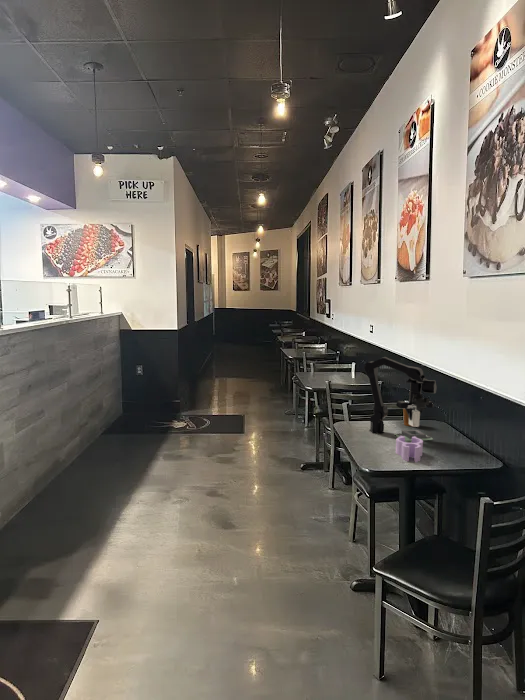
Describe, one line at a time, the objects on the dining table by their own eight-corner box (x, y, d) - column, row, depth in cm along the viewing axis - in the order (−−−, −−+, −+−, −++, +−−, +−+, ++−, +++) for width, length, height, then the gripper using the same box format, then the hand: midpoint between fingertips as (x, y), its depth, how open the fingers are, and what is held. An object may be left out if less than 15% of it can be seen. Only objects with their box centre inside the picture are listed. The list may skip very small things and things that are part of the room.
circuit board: (404, 441, 282) (404, 438, 282) (394, 435, 293) (394, 432, 293) (432, 440, 285) (432, 437, 285) (421, 434, 297) (421, 431, 297)
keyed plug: (413, 426, 285) (414, 409, 284) (408, 424, 291) (409, 406, 290) (419, 426, 286) (420, 408, 285) (414, 424, 291) (415, 406, 290)
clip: (425, 463, 247) (426, 448, 246) (397, 461, 249) (398, 446, 248) (420, 450, 267) (420, 436, 266) (394, 448, 269) (395, 435, 268)
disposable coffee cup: (403, 422, 323) (404, 402, 322) (419, 424, 319) (420, 404, 318) (399, 425, 315) (400, 405, 313) (416, 427, 310) (417, 407, 309)
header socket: (410, 439, 283) (410, 435, 283) (401, 434, 293) (401, 430, 293) (425, 438, 285) (425, 434, 285) (416, 433, 295) (416, 429, 295)
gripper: (406, 394, 277) (404, 424, 278) (439, 393, 281) (437, 423, 282) (396, 390, 288) (395, 419, 289) (428, 390, 291) (427, 418, 293)
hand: (414, 420), depth 288 cm, fingers closed on keyed plug, 4 cm apart
